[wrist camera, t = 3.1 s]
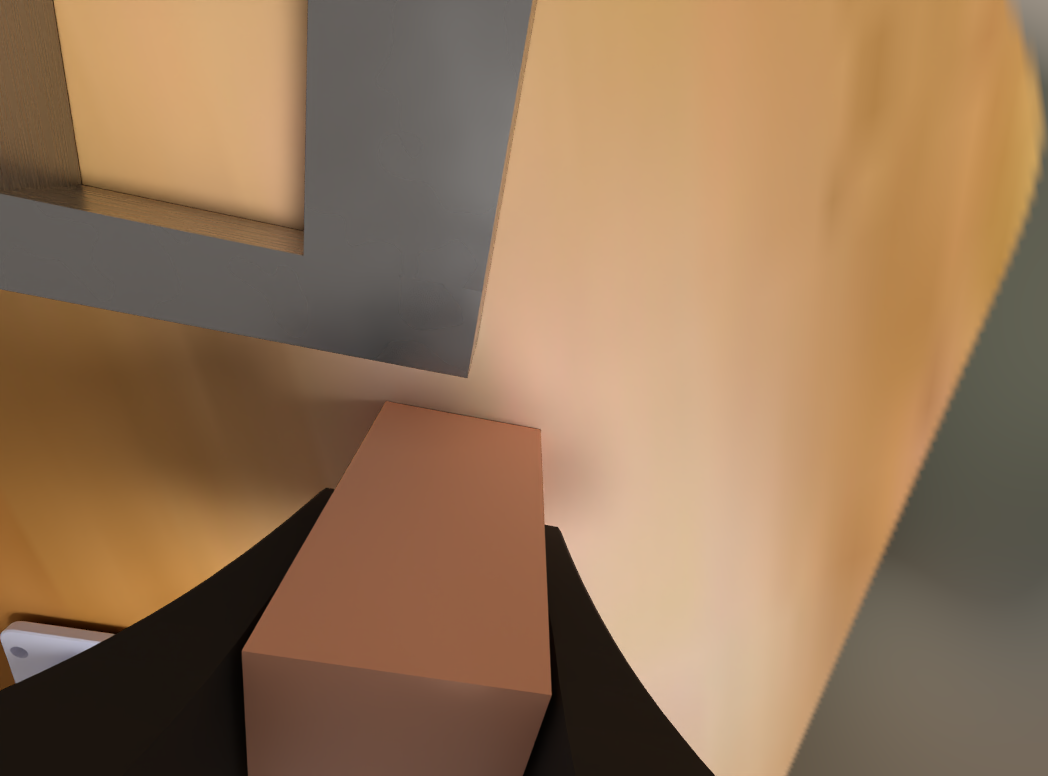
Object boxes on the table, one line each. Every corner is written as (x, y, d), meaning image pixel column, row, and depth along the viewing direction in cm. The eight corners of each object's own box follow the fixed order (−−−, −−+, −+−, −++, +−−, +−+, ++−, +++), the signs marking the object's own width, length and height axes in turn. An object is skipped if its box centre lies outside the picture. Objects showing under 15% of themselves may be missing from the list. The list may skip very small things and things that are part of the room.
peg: (511, 546, 15) (497, 847, 8) (373, 523, 14) (250, 818, 8) (540, 429, 13) (551, 694, 7) (385, 401, 13) (241, 651, 6)
